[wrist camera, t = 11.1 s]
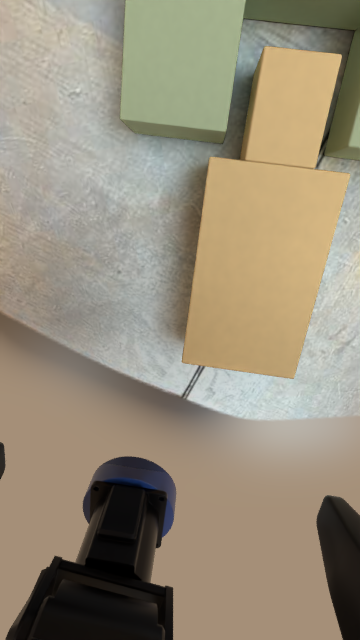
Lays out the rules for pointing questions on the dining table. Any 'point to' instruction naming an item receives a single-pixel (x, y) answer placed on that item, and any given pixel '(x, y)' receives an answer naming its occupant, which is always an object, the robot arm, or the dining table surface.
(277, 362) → the sand pad
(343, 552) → the robot arm
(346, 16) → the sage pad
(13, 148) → the dining table surface
